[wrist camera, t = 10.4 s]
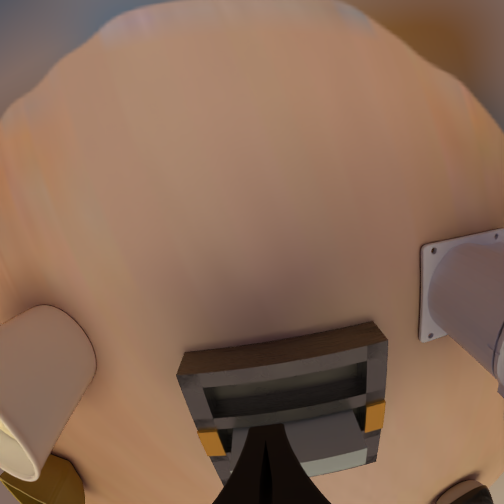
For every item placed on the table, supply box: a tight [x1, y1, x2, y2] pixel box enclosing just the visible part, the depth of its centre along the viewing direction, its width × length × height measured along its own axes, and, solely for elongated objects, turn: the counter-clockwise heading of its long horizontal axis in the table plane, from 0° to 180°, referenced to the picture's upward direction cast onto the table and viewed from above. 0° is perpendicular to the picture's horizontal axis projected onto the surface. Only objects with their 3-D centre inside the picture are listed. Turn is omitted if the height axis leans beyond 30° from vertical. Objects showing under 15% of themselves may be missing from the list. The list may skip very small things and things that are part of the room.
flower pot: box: [0, 454, 85, 504], centre depth 22 cm, size 9×9×9 cm
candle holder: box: [0, 305, 96, 482], centre depth 16 cm, size 10×10×12 cm
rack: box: [176, 321, 388, 486], centre depth 21 cm, size 14×14×3 cm
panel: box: [230, 409, 367, 477], centre depth 19 cm, size 9×2×6 cm, turn 100°
